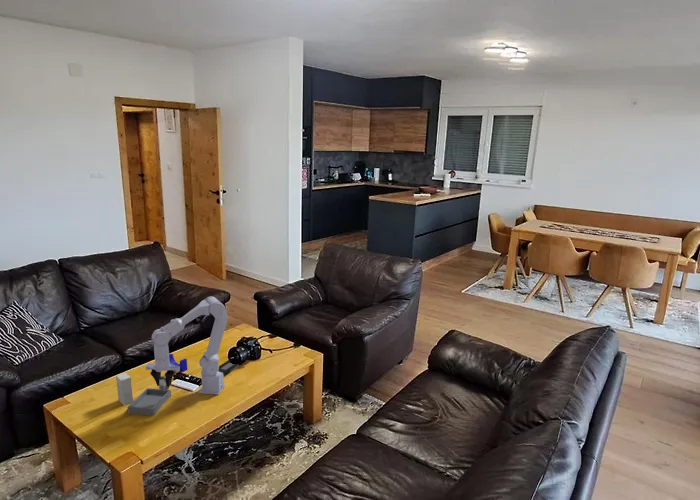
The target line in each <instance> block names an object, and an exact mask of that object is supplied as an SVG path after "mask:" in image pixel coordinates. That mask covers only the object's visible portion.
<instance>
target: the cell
mask: <svg viewBox="0 0 700 500" xmlns="http://www.w3.org/2000/svg"><path fill="white" fill-rule="evenodd" d="M158 387H159V388H158V389H160V390H161V391H165V390H170V386H169V387H167V380H166V377H165V375H161V377H159V386H158Z"/></svg>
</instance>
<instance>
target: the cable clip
mask: <svg viewBox="0 0 700 500" xmlns="http://www.w3.org/2000/svg"><path fill="white" fill-rule="evenodd" d="M169 361H170V364H173V365H176V366H180V371H179V372H181V373H184V372H187V371H188V359H187V358H183V359H180V361H179V363H178V362H177V361H176V360H175V358H174V353H169Z"/></svg>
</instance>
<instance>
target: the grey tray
mask: <svg viewBox="0 0 700 500" xmlns="http://www.w3.org/2000/svg"><path fill="white" fill-rule="evenodd" d="M171 397H172V390H171V389H168V390H165V391H161V390H160V389H159V388H153V387H152V388H151V387H148V388H146V389H144V391H142V392H141V393H140V394H139V396H137V398H135V399H133V402H131V403H129V405H128V406H127V413H128V414H130V415H131V414H132V415H143V416H155V414H156V413H157V412H158V411H159V410H161V408H162V407H163V406H164V404H165V403H166V402H167V401H168V400H169V399H170V398H171Z"/></svg>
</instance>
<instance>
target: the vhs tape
mask: <svg viewBox="0 0 700 500" xmlns="http://www.w3.org/2000/svg"><path fill="white" fill-rule="evenodd" d="M238 366H239V364H232V363H231V362H230V361H229V359H228V360H227V361H225V362H223V363H222V364H220V365H219V370H218V371H219V372H222V373H223V375H224V377H226V376H228V375H229V374H230V373H232V372H233V371H234V370H236V369H237V368H239V367H240V366H239V367H238Z"/></svg>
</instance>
